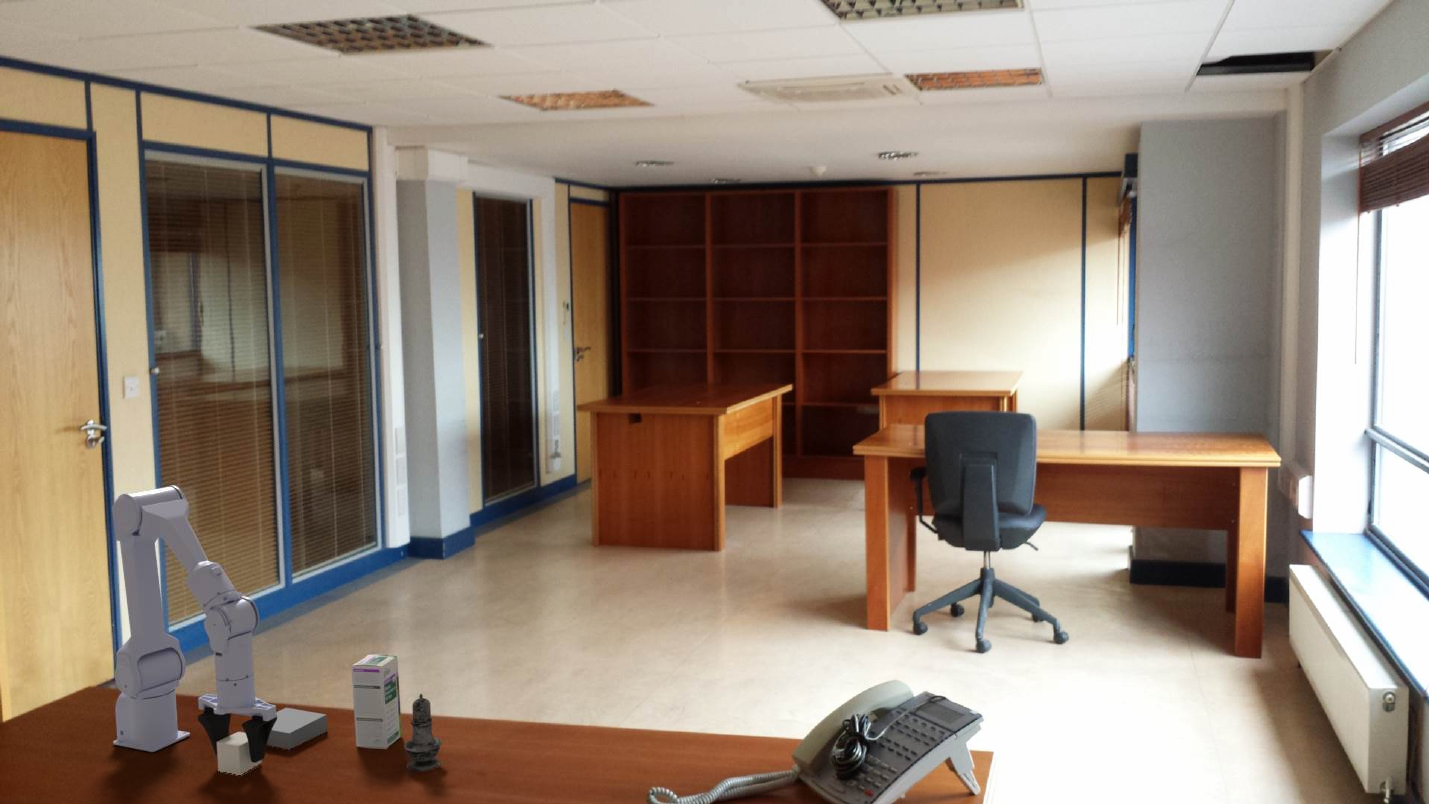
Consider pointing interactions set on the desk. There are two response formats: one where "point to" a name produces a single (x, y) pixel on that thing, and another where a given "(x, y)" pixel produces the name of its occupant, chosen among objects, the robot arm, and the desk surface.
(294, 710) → the block
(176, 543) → the robot arm
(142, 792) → the desk surface
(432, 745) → the salt shaker
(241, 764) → the cream white cube
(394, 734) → the syrup box
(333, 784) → the desk surface
